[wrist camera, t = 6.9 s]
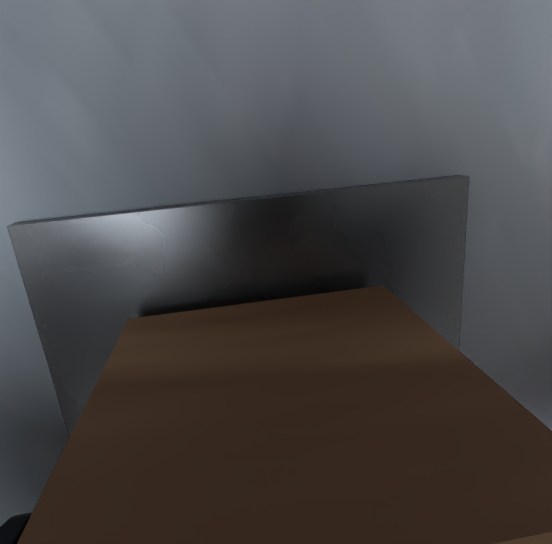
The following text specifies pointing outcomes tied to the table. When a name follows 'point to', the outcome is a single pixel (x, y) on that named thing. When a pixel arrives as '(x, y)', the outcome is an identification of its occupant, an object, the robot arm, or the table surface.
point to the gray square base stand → (236, 263)
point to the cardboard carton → (297, 435)
